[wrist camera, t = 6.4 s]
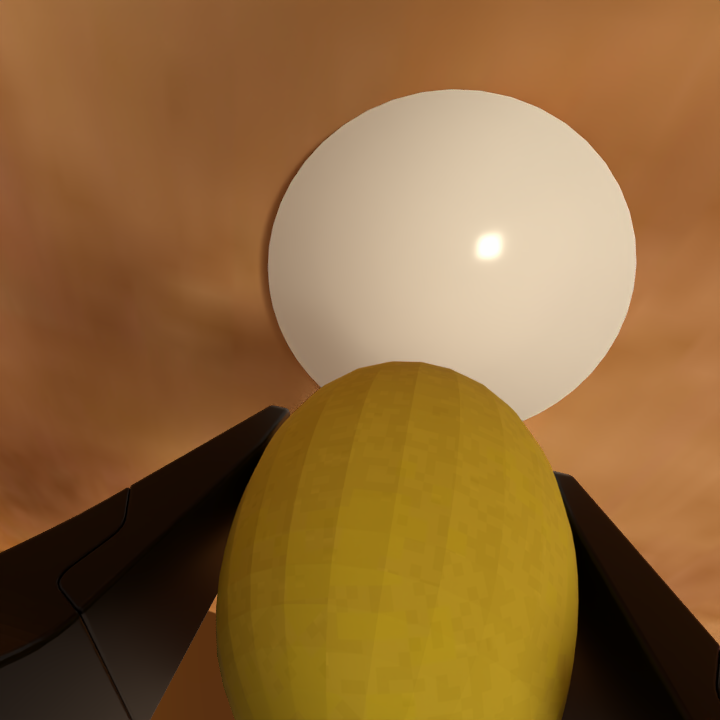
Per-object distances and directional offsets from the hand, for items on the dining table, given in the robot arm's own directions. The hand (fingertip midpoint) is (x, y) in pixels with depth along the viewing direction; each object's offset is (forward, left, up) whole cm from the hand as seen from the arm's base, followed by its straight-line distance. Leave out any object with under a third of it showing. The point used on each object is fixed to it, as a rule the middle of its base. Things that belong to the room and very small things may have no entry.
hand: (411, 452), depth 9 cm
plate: (0, 0, -10) cm, 10 cm away
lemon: (0, 0, -2) cm, 2 cm away
